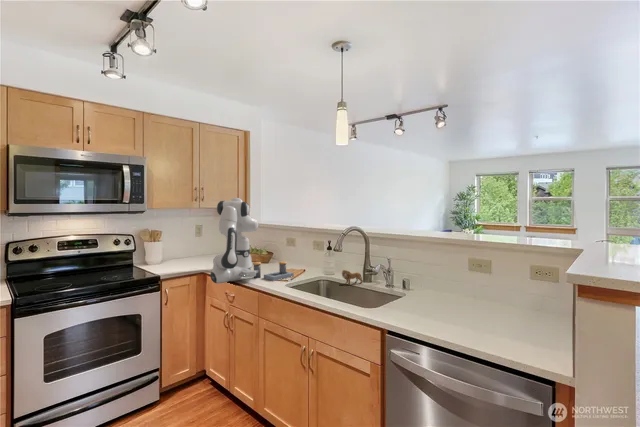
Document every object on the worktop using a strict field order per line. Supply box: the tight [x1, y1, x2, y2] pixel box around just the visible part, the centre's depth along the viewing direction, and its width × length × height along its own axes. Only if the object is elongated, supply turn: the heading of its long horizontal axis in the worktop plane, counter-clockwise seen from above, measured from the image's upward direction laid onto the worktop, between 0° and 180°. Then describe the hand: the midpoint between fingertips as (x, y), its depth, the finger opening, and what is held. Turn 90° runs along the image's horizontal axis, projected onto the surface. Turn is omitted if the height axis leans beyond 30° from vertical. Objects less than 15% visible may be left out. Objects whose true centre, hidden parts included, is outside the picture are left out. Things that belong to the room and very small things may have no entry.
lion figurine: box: [341, 269, 364, 285], centre depth 206 cm, size 15×5×9 cm, turn 111°
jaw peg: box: [252, 261, 262, 279], centre depth 225 cm, size 6×6×10 cm
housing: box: [263, 270, 295, 282], centre depth 224 cm, size 11×17×2 cm, turn 135°
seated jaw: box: [278, 261, 288, 274], centre depth 227 cm, size 6×6×10 cm
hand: (253, 270), depth 223 cm, fingers open, 8 cm apart
